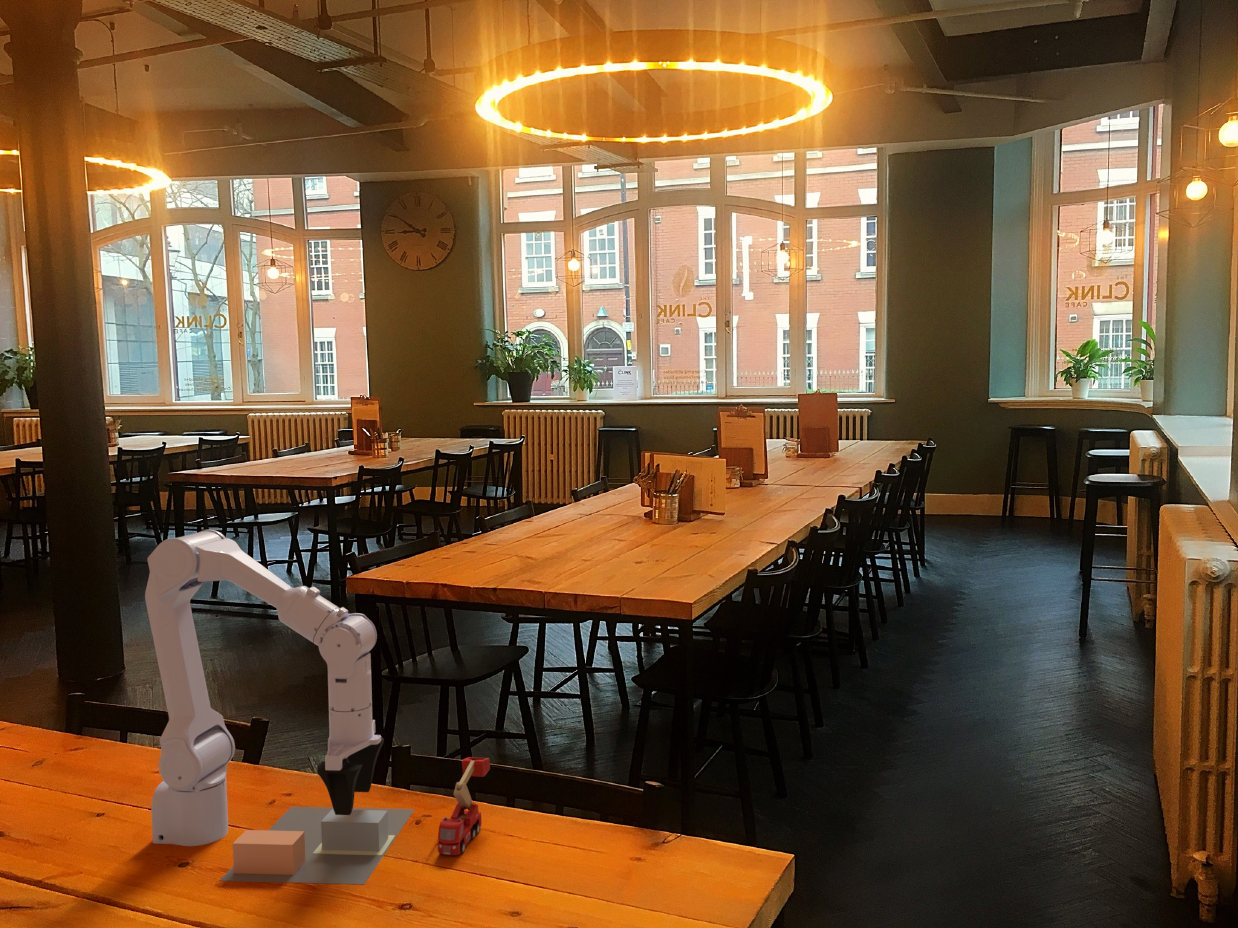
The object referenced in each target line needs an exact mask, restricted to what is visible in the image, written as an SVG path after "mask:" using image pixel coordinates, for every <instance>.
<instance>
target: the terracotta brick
mask: <svg viewBox="0 0 1238 928" xmlns="http://www.w3.org/2000/svg"><path fill="white" fill-rule="evenodd" d="M268 830H269V829H266V830H265V829H264V830H262V829H260V830H259V829H246V830H244V832H242V834H241V835H239V837H238V838H237V839H235V840H234V842H232V861H233V862H232V863H233V864H232V867H233V866H234V873H243V874H282V875H294V874H295V873H296V871H297V870H298V869H299V868H300V867H301V865H302V864H303V863H304V862H305V860H306V859H305V831H268Z"/></svg>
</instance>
